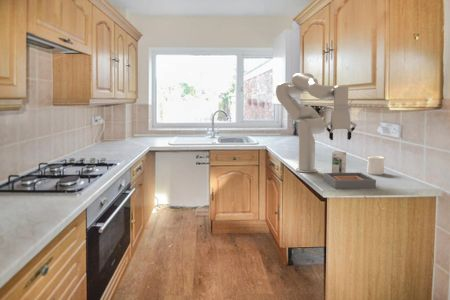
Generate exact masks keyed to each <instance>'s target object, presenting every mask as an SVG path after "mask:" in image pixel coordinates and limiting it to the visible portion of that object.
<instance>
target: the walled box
mask: <svg viewBox="0 0 450 300" xmlns="http://www.w3.org/2000/svg"><path fill="white" fill-rule="evenodd" d="M323 180H324V182H326V183H327V184H328V185H330V186H331V187H332V188H334V189H376V188H377V187H376V186H377V180H376V179H375V178H373V177H371V176H368V175H367V174H365V173H363V172H346V173H332V172H324V173H323Z"/></svg>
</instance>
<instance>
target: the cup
mask: <svg viewBox="0 0 450 300" xmlns="http://www.w3.org/2000/svg"><path fill="white" fill-rule="evenodd" d="M366 171H367V172H366V173H367V174H368V175H373V176H379V175H384V172H385V157H384V156H380V155H370V156H367V166H366Z"/></svg>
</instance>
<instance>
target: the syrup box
mask: <svg viewBox="0 0 450 300" xmlns="http://www.w3.org/2000/svg"><path fill="white" fill-rule="evenodd" d="M331 154H332V155H331V173H347V172H346V171H347V170H346V169H347V167H346V166H347V151H337V150H334V151H332V153H331Z"/></svg>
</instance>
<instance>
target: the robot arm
mask: <svg viewBox="0 0 450 300" xmlns="http://www.w3.org/2000/svg"><path fill="white" fill-rule="evenodd" d="M305 92H308V94H309V95H310V96H312V97H313V98H316V99H320V100H333V110H332V111H331V114H330V121H329V122H327V123H325V121H324V119H322V117H321V115H320V114H319V113H318V112H317V111H316V109H315V108H314V107H312V106H309V105H308V106H307V105H306V106H304V105H301V104H300V103H299V102H298V100H296V98H294V97H293V96H296V97H297V96H301V95H302V94H303V93H305ZM275 95H276V98H277V100H278V102H279V103H280V105H282V106H283V108H284V109H285V111H286V113H288V115H289V116H290V118H291V119H292V120H293V121H294V122H297V133H298V167H297V168H296V169H295V171H296V172H297V173H305V174H306V173H309V174H310V173H317V172H318V169H317V168H315V167H316V166H315V164H316V163H315V162H316V140H315V137H314V135H319V134H321V133H324V132H325V129H326V131H327V132H328V135H329V136H328V139H329V140H330V141H333V140H334V133H333V132H334V130H347V140H348V141H349V140H350V141H351V139H352V133H353V131H354V130H355V129H356V127H357V124H356V123H354V122H353V121H351V114H350V110H349V109H351V105H349V86H348V85H345V84H343V85H341V84H340V85H322V84H320V83H319V81H318V79H317V78H315V76H314V75H313V74H311V73H307V72H306V73H305V72H298V73H295V74H294V75H292V77H291V81H284V82H280V83H278V84H277V86H276V88H275Z"/></svg>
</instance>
